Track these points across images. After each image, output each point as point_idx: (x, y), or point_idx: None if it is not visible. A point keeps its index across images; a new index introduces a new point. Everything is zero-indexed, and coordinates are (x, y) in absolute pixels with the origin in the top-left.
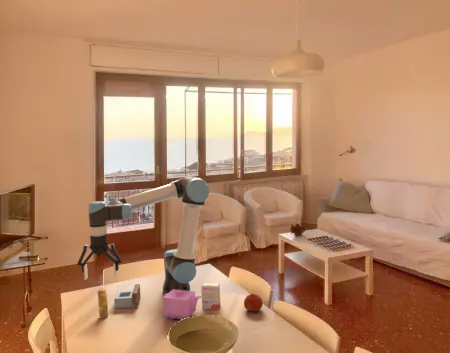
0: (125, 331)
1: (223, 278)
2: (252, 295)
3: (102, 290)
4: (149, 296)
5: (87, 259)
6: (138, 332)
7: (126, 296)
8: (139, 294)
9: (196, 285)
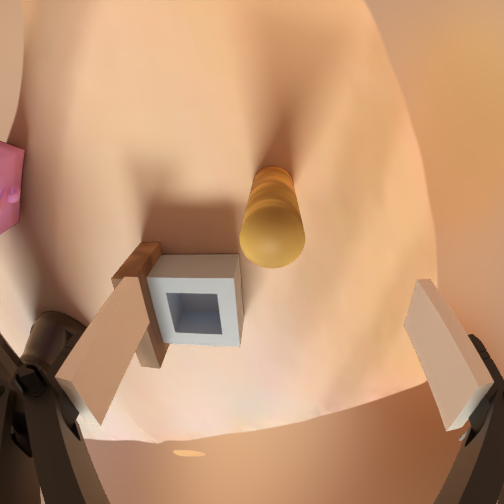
0: (139, 46)
1: None
2: None
3: (269, 239)
4: None
5: (482, 481)
6: (91, 45)
7: (200, 320)
8: None
9: None
